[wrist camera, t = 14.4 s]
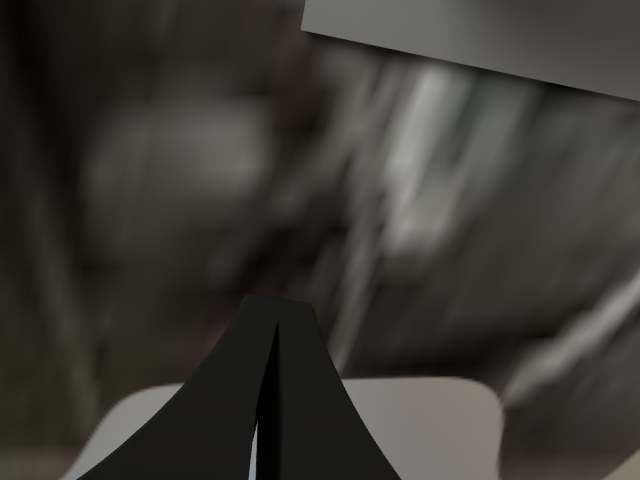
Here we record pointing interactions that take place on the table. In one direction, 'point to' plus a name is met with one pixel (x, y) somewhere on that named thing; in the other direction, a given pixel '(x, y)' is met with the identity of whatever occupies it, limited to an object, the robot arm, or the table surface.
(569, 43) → the post board
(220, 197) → the table surface
